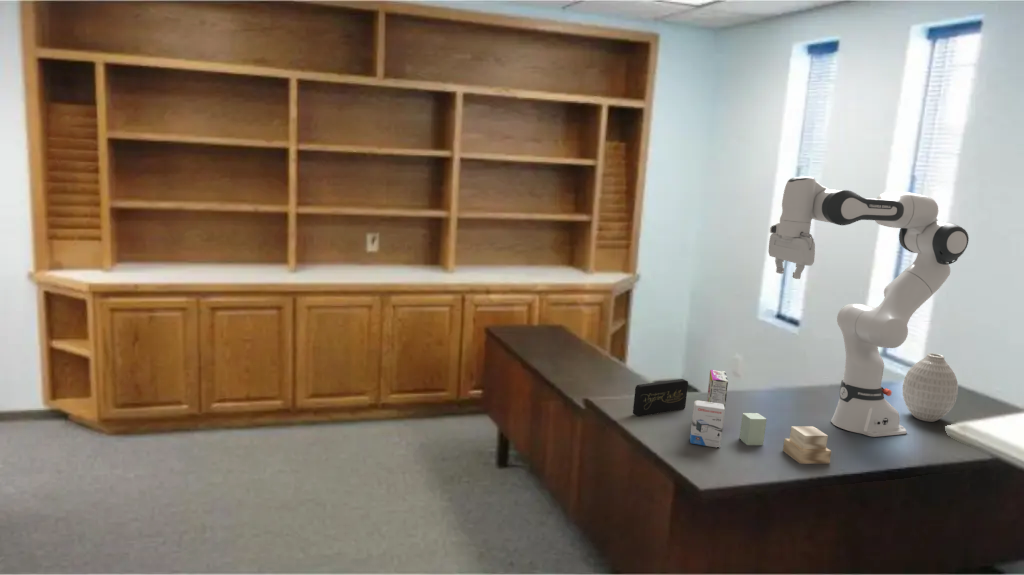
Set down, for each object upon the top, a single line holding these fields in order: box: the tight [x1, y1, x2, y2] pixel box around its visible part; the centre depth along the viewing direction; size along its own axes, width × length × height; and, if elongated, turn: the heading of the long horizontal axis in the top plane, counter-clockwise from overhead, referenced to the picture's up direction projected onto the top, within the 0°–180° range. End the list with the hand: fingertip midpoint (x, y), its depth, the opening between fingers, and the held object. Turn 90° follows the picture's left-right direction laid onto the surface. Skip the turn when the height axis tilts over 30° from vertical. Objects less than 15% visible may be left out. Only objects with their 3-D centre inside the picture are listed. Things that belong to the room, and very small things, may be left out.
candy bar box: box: [706, 369, 729, 407], centre depth 228 cm, size 11×5×16 cm, turn 168°
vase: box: [902, 352, 959, 423], centre depth 250 cm, size 16×16×22 cm
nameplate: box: [632, 378, 689, 417], centre depth 238 cm, size 21×2×10 cm, turn 121°
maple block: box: [788, 425, 829, 449], centre depth 208 cm, size 7×7×4 cm
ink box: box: [689, 399, 726, 449], centre depth 213 cm, size 9×5×12 cm, turn 77°
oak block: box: [782, 438, 832, 465], centre depth 209 cm, size 9×9×4 cm
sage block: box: [739, 412, 768, 446], centre depth 217 cm, size 5×5×8 cm
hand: (787, 275), depth 224 cm, fingers open, 8 cm apart
